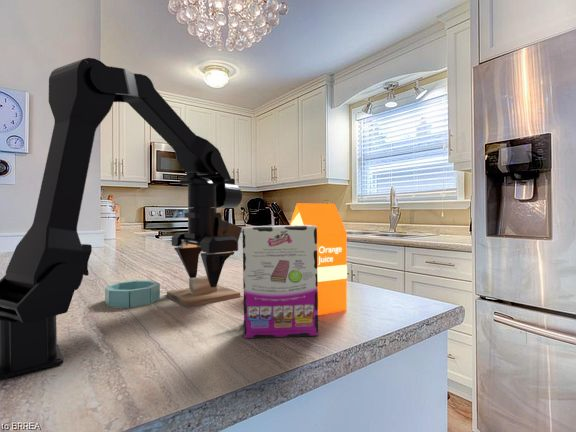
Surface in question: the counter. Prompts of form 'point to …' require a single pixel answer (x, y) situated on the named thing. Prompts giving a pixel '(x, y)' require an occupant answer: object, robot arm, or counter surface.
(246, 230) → the candy bar box
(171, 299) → the mat
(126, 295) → the bowl
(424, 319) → the counter surface
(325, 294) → the orange juice
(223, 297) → the lid
